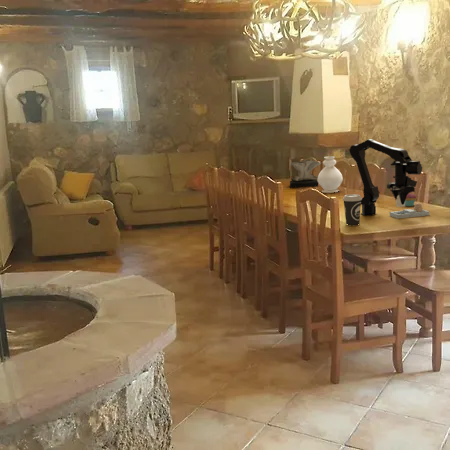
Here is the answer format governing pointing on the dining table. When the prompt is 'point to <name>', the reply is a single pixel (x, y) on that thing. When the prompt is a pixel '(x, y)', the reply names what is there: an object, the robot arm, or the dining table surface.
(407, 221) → the dining table surface
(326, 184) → the decorative vase
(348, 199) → the coffee cup
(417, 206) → the brown egg
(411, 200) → the cupcake
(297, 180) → the coral
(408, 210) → the egg carton
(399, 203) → the cream egg
